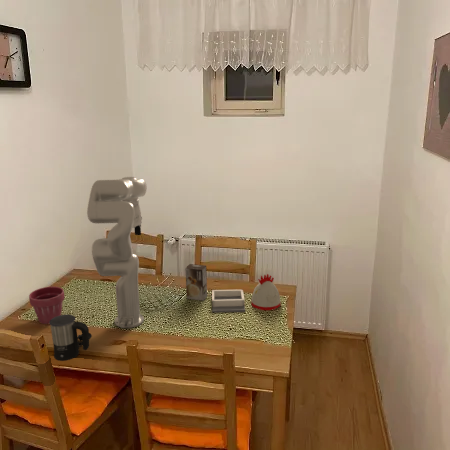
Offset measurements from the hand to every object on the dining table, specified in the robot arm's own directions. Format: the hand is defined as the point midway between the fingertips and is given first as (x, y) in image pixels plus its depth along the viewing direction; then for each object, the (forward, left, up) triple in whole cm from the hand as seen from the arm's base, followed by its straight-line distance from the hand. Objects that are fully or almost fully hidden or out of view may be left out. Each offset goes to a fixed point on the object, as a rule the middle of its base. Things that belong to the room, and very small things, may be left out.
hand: (132, 237), depth 217 cm
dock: (-12, -46, -30) cm, 56 cm away
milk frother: (-51, +16, -30) cm, 62 cm away
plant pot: (-25, +34, -30) cm, 52 cm away
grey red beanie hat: (-14, -64, -30) cm, 72 cm away
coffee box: (-5, -31, -30) cm, 43 cm away
